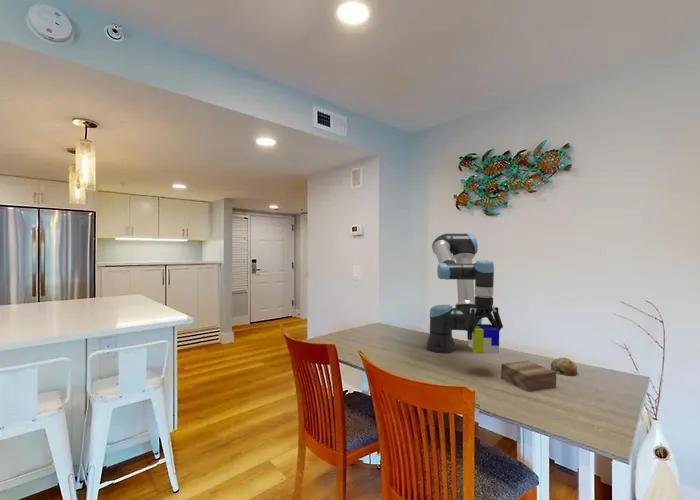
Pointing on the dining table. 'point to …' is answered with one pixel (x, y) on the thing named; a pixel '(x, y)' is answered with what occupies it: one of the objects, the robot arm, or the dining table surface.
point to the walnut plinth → (528, 375)
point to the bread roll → (564, 366)
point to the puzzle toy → (485, 339)
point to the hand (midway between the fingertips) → (483, 345)
